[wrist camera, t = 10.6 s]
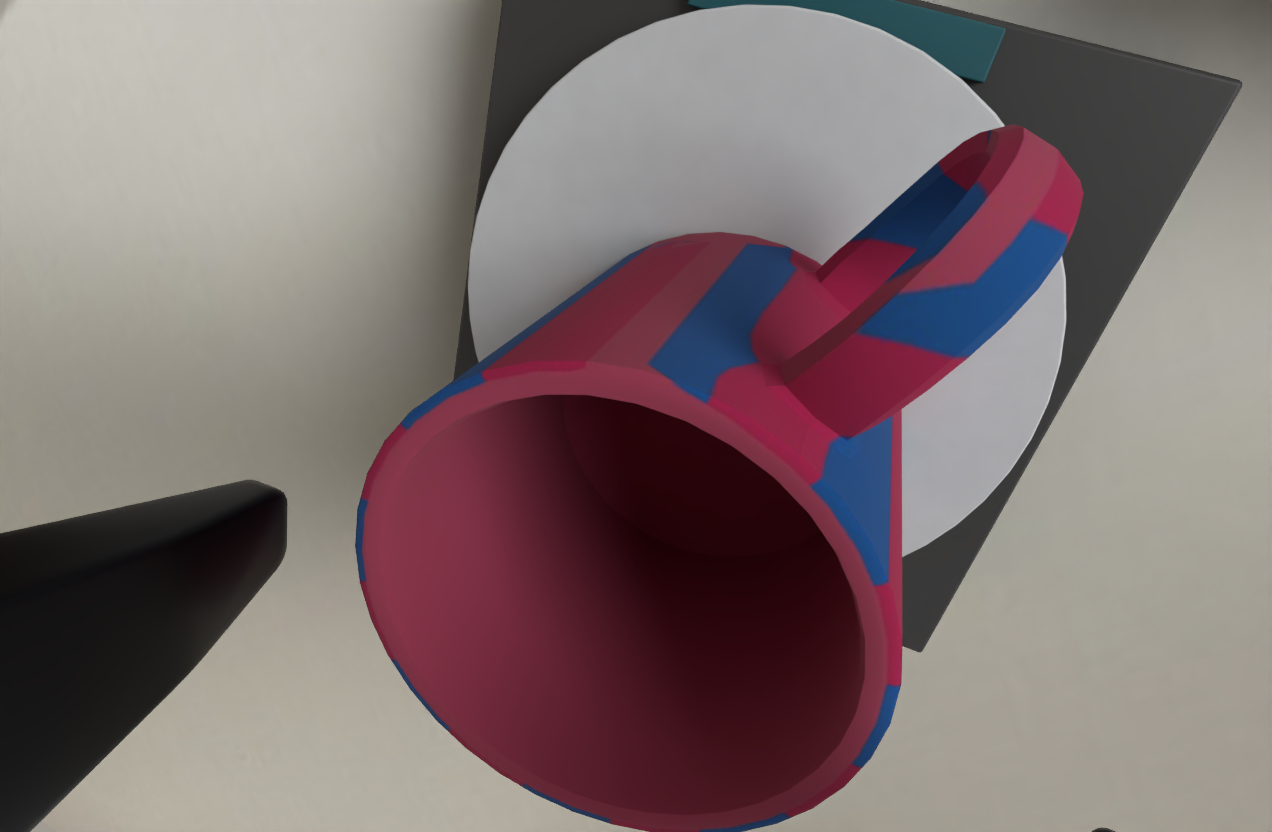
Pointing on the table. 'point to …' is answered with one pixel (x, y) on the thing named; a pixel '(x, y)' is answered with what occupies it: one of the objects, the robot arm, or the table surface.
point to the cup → (697, 503)
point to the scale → (829, 190)
